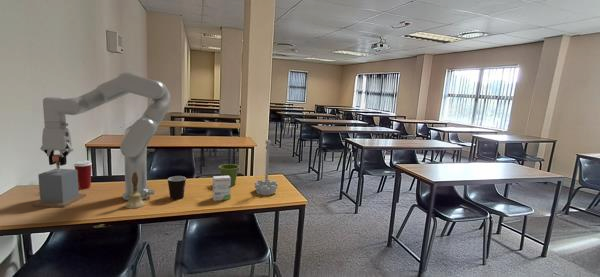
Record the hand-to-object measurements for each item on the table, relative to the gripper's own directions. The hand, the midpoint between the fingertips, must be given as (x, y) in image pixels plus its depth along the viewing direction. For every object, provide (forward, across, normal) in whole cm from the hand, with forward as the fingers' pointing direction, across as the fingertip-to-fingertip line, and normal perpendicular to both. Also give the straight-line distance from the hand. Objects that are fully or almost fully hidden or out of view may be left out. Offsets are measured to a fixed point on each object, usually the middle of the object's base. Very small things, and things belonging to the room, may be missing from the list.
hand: (58, 164), depth 137 cm
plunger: (+14, 0, 0) cm, 14 cm away
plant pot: (+18, -71, -36) cm, 82 cm away
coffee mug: (+18, -50, -13) cm, 55 cm away
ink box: (+18, -72, -13) cm, 75 cm away
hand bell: (+18, -35, +1) cm, 39 cm away
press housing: (+18, 0, 0) cm, 18 cm away
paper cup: (+18, +2, -19) cm, 26 cm away
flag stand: (+18, -94, -27) cm, 99 cm away
